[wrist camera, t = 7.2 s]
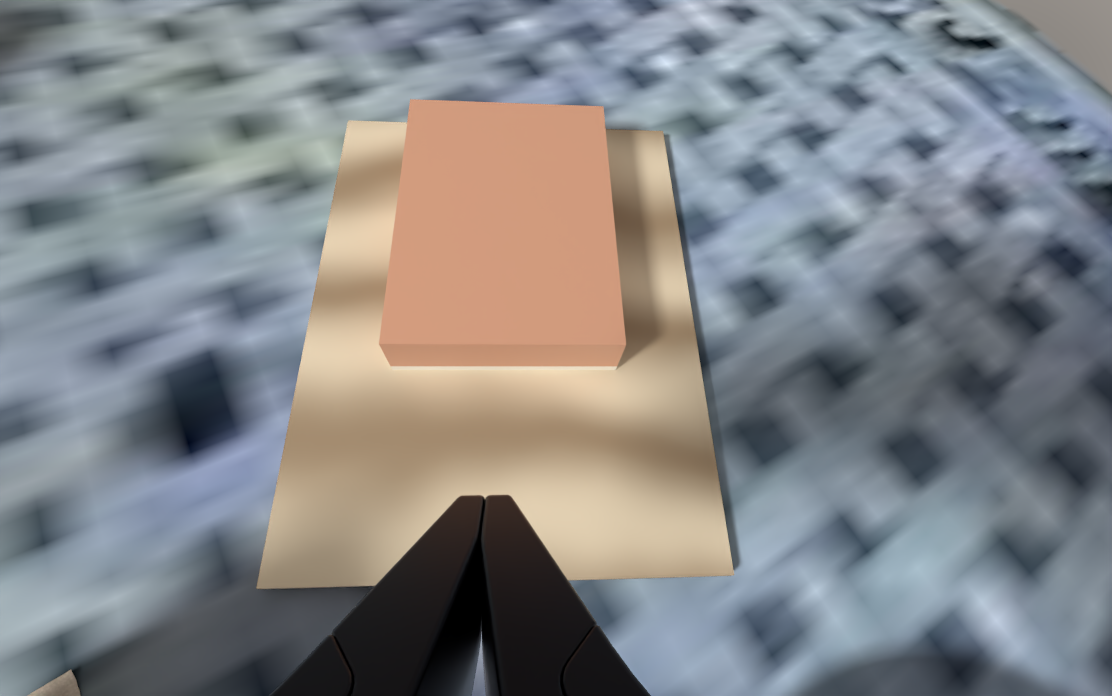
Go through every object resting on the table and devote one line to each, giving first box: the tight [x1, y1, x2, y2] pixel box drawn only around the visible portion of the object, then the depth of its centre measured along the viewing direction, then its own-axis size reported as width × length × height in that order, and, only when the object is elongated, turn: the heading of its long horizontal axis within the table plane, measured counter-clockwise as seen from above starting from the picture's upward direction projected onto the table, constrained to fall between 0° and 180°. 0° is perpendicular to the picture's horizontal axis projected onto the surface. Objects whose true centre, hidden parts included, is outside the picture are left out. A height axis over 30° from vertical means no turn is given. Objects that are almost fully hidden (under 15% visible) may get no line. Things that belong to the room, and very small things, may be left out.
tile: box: [379, 99, 626, 370], centre depth 26 cm, size 3×10×14 cm
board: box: [256, 121, 734, 589], centre depth 26 cm, size 24×18×1 cm
